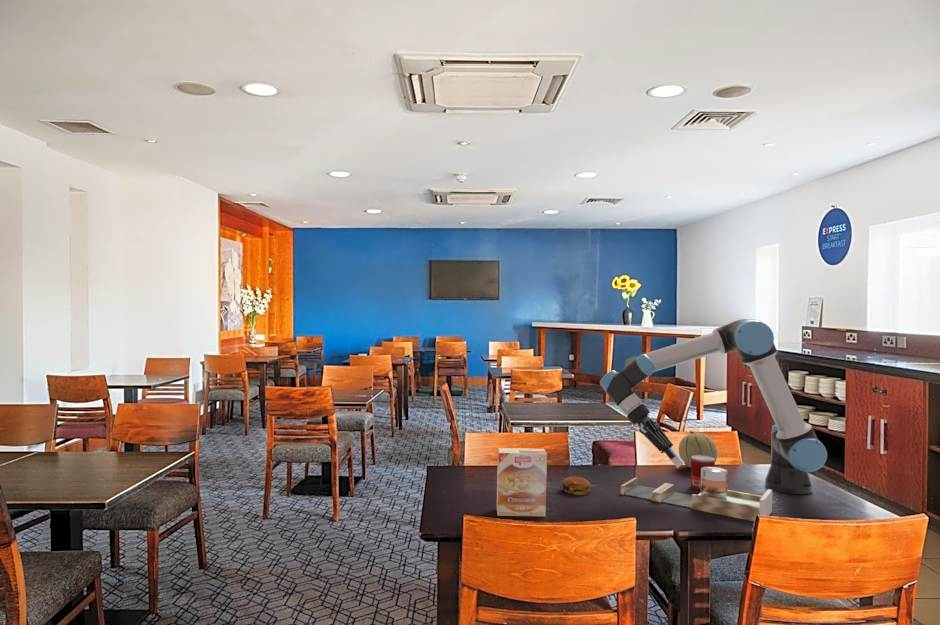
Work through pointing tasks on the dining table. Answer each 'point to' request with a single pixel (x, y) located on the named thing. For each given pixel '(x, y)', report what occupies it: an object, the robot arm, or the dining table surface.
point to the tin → (714, 482)
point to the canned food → (699, 469)
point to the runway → (694, 500)
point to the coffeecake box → (521, 482)
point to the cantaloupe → (696, 447)
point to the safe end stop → (757, 502)
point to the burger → (576, 485)
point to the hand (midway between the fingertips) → (681, 465)
